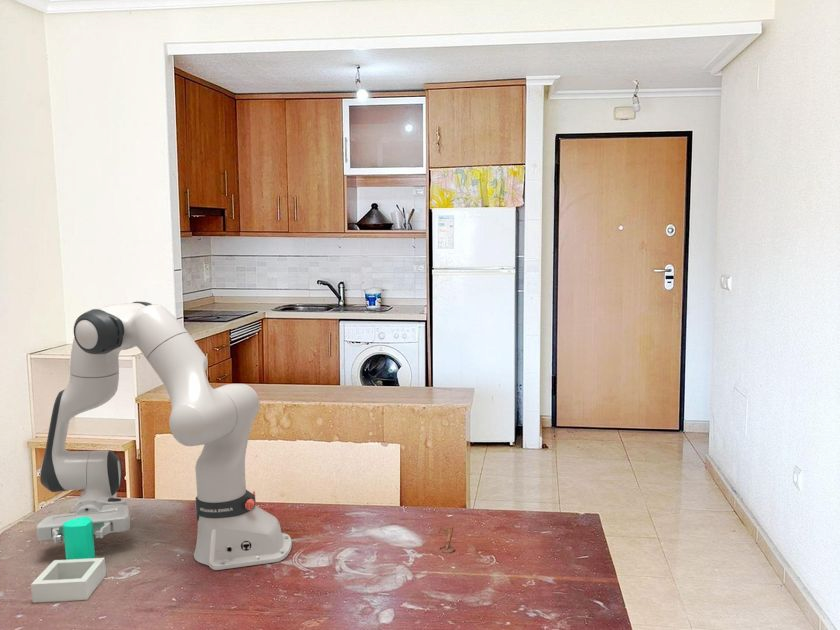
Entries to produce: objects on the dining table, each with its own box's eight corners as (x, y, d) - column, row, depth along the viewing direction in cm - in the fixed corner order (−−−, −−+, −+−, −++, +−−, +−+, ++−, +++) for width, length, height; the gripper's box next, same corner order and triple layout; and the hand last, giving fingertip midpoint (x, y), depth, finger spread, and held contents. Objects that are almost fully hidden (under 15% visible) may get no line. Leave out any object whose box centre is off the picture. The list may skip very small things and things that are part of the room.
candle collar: (106, 574, 164) (104, 557, 164) (87, 599, 153) (85, 581, 153) (55, 577, 164) (53, 560, 163) (32, 602, 153) (30, 584, 152)
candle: (67, 573, 165) (62, 522, 164) (66, 563, 171) (61, 513, 169) (96, 567, 168) (92, 517, 167) (94, 557, 173) (90, 508, 172)
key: (436, 529, 186) (429, 555, 171) (436, 525, 186) (429, 551, 171) (459, 527, 185) (454, 553, 170) (459, 524, 185) (454, 550, 170)
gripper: (42, 507, 178) (26, 529, 165) (132, 497, 183) (124, 518, 170) (45, 532, 179) (29, 556, 166) (134, 522, 184) (126, 545, 170)
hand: (78, 537), depth 168 cm, fingers open, 7 cm apart
